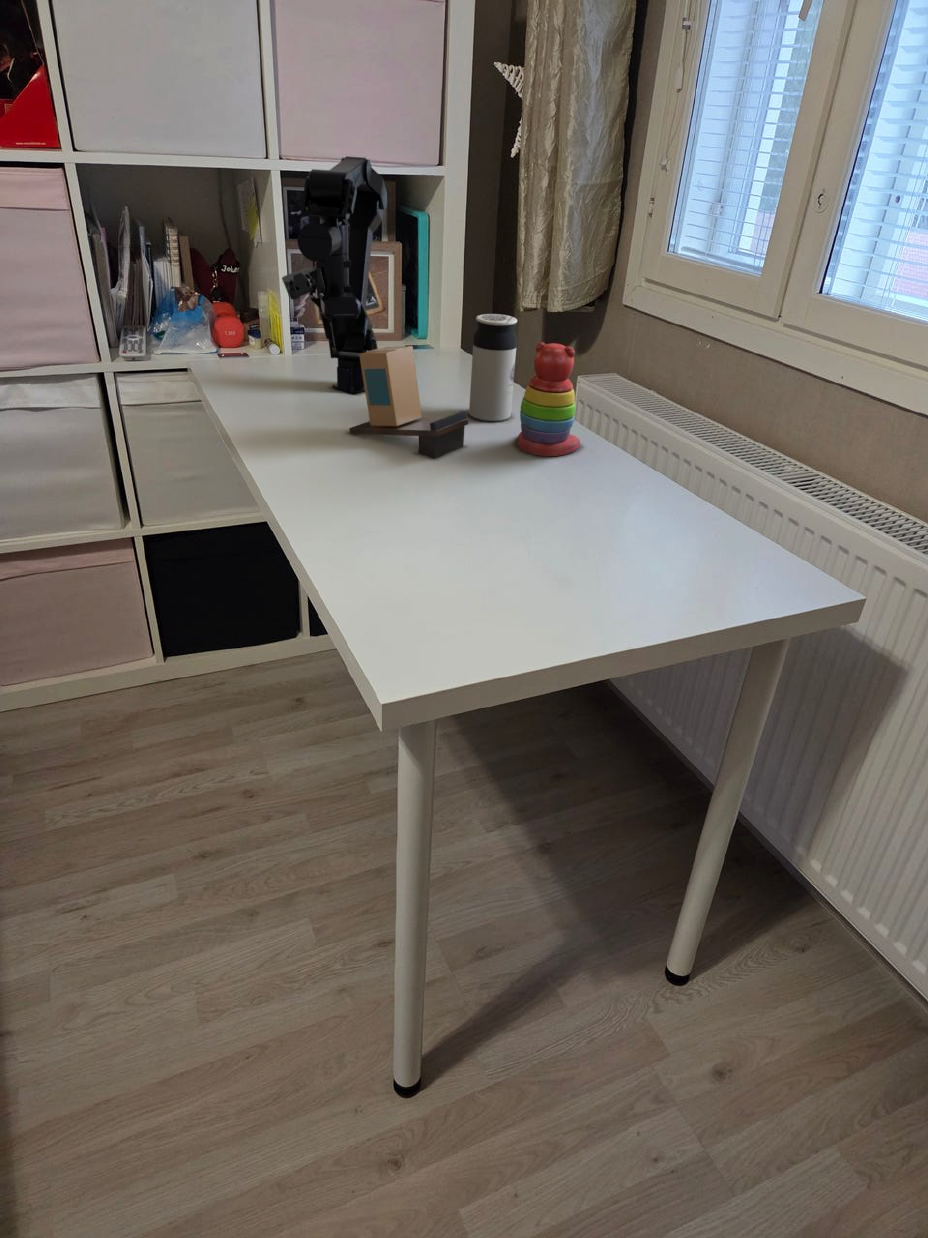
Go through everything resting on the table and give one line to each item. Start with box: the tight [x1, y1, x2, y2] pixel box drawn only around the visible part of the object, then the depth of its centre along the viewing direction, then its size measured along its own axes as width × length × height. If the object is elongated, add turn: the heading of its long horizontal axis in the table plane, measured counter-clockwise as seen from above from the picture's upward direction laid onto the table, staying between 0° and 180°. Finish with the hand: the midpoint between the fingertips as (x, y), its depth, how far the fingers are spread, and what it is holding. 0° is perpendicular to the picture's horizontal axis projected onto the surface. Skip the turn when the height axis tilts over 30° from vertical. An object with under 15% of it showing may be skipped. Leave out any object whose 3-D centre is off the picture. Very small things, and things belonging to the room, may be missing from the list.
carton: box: [359, 345, 423, 426], centre depth 145 cm, size 8×7×13 cm
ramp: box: [348, 410, 469, 460], centre depth 146 cm, size 19×9×6 cm, turn 55°
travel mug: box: [468, 313, 518, 422], centre depth 158 cm, size 8×8×18 cm
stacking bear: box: [516, 341, 581, 457], centre depth 144 cm, size 11×10×18 cm
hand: (333, 344), depth 154 cm, fingers open, 9 cm apart
